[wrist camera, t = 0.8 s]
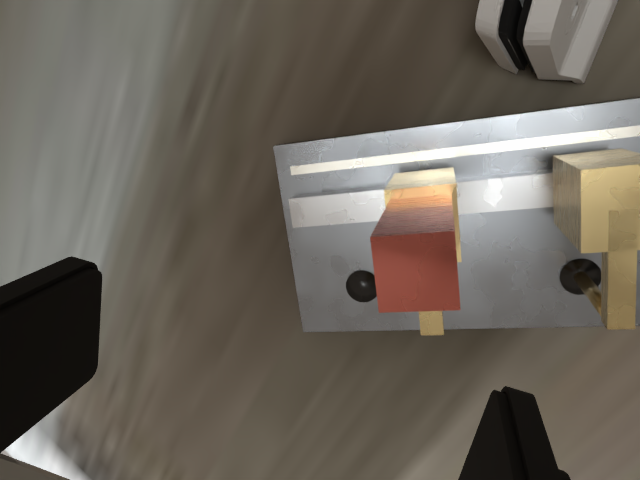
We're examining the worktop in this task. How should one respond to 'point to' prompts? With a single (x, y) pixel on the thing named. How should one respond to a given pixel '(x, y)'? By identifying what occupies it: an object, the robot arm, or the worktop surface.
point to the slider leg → (418, 247)
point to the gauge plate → (479, 218)
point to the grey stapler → (544, 34)
